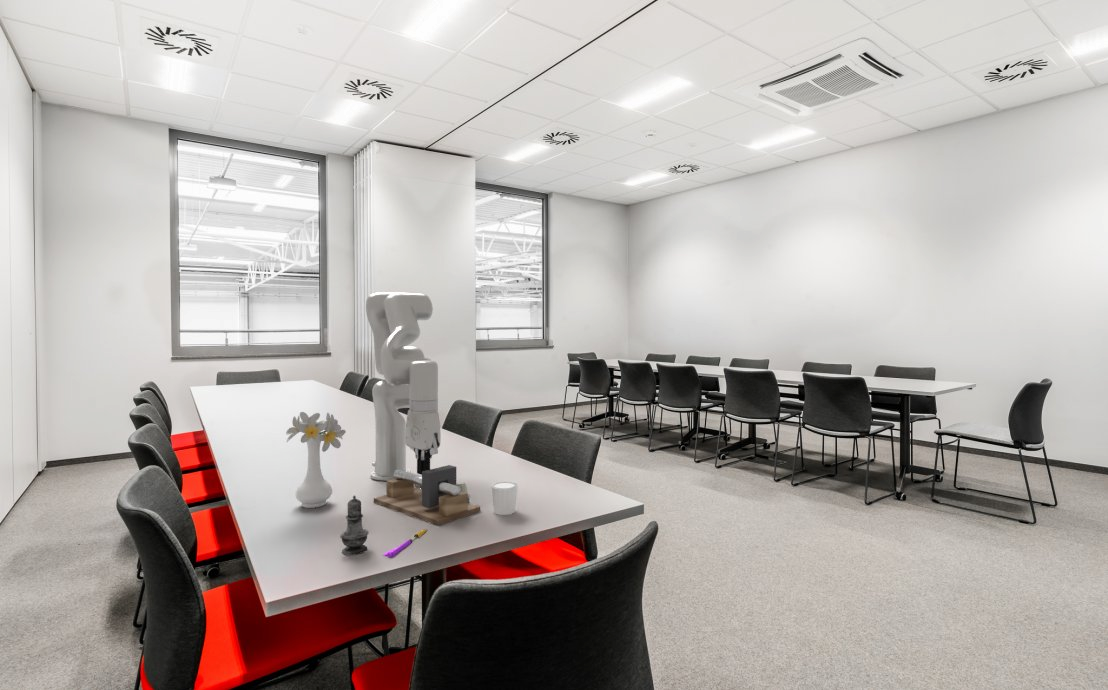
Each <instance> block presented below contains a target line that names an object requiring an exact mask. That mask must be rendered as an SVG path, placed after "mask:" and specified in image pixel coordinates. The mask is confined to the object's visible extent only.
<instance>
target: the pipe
mask: <svg viewBox="0 0 1108 690" xmlns="http://www.w3.org/2000/svg"><path fill="white" fill-rule="evenodd" d="M394 477H395V478H397V479H400V480H403V481H407V482H410V483H413V484H414V485H415V484H417V485H420V486H422V475H420V474H417V473H412V472H411V473H409V472H406V471H402V470H396V471H395V472H394ZM438 491H440V492H444V493H447V494H450V495H454V496H458V495H460V493H461V488H460V487H459V486H456V485H452V484H449V483H445V482H442V481H441V482H438Z"/></svg>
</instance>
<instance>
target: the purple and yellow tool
mask: <svg viewBox="0 0 1108 690" xmlns="http://www.w3.org/2000/svg"><path fill="white" fill-rule="evenodd" d="M427 531H428V529H422V530H421V531H419V532H417V533H415V534H414V537H413V538H410V539H408V540H405V542H403V543H402V544H400V545H399V546H398V547H396V548H392V549H391V550H389V551H386V552H385V553H383V554H382V556H383V555H385V556H384V557H388V558H389V557H391V558H393V557H395V556H396V555H398V554H399V551H400V552H401V551H402V550H403V549H405V548H406V547H408V546H409V545H410V544H411V543H412V542H413V540H415V539H416V538H417V537H418V538H420V537H421V536H423V535H424V534H425V533H426V532H427ZM422 534H423V535H422ZM416 535H417V536H416ZM394 555H395V556H394Z"/></svg>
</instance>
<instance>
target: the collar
mask: <svg viewBox="0 0 1108 690" xmlns="http://www.w3.org/2000/svg"><path fill="white" fill-rule="evenodd" d="M421 476H422V506H423V507H426V508H432V507H436V506H439V497H440V496H444V495H447V493H444V492H440V491H438V482H441V481H442V482H445V483H449V484H452V485H456V483H457V466H455V465H451V464H448V465H444V466H439V467H436V468H430V470H426V471H422V475H421Z"/></svg>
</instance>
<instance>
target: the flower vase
mask: <svg viewBox="0 0 1108 690" xmlns="http://www.w3.org/2000/svg"><path fill="white" fill-rule="evenodd" d="M320 417H321V414H320V413H319V412H315V413H313V414H312V415H310V416H309V415H308V414H307V413H306V412H304V411H300V412H299V415H298V416H297V417H296V416H295V415H294V416H293V417H292V426H291V427H289V428H288V429H287V431H286V432H285V434H286V435H289V436H288V438H287V439H286V443H288V442H289V441H290V440H291V439H292V438H294V437H295V436H297V434H299V433H303V435H302V436H301V438H300V442H301V443H302V444H303V443H304V444H305V443H306V445H307V446H306V447H307V470H306V474H305V476H304V479H303V481H302V482H301V483H300V484H299V486H298V487H296V490H295V499H296V500H297V502H298V501H299V503H301V506H302V508H305V509H314V508H315V507H316V508H319V507H323V506H325V505H327V502H328V501H327V500H328V499H330V498H331V496H332V494H333V487H332V485H331V483H330V482H328V480H326V478H325V477H324V475H323V473H322V472H323V471H322V469H321V453H320V452H321V451H322V452H323V453H325V452H326V451H328V449H329V448H330V445H331V446H332V447H333V448H334V449H335V448H336V449H340V448H341V446H342V444H341V442H340V440H339V439H341V440H343V436H344V435H345V434H346V430H345V429H342V426H341V425H340V424H339V422H338V419H336V418H335V417H334V414H330V413H329V412H327V413H326V416H325V419H324V420H321V421H318V420H319V419H320ZM317 421H318V422H317ZM322 442H323V444H322V448H321V443H322ZM316 508H315V509H316Z"/></svg>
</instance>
